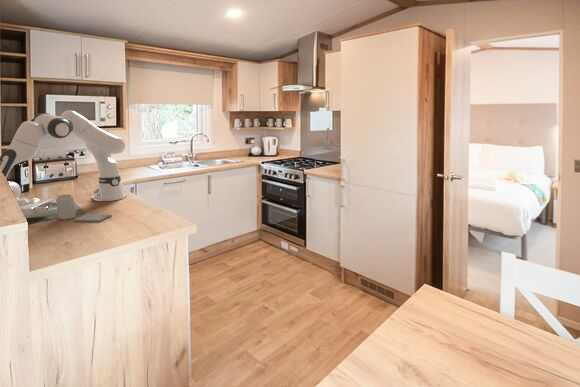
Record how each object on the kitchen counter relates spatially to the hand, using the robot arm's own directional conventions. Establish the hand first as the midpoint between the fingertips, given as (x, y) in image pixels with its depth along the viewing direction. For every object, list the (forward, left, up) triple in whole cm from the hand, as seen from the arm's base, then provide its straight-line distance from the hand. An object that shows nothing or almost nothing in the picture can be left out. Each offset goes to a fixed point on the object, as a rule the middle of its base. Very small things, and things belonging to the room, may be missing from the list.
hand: (52, 206), depth 180 cm
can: (+5, +4, -7) cm, 9 cm away
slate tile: (+18, +11, -6) cm, 22 cm away
